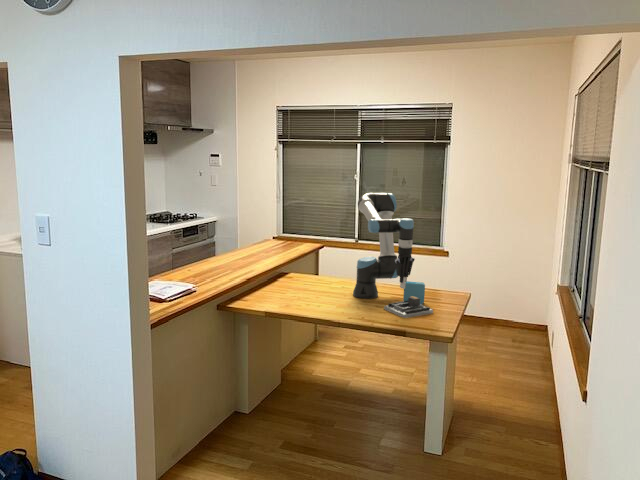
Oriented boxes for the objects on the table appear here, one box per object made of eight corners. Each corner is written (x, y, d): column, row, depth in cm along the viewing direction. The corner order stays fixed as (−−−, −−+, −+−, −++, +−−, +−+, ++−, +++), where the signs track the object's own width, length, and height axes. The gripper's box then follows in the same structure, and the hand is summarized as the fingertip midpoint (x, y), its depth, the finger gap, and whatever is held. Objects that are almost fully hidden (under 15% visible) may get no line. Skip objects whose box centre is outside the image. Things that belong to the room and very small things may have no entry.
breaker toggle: (408, 305, 299) (408, 296, 298) (413, 304, 301) (414, 295, 300) (413, 308, 295) (414, 298, 294) (419, 307, 297) (420, 298, 296)
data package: (424, 302, 315) (425, 282, 313) (424, 304, 310) (425, 284, 308) (403, 300, 317) (404, 281, 315) (403, 302, 312) (404, 283, 310)
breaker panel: (383, 309, 299) (384, 303, 298) (411, 304, 309) (411, 298, 308) (404, 318, 284) (404, 311, 283) (432, 313, 294) (433, 306, 293)
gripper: (400, 249, 285) (397, 291, 290) (418, 247, 292) (416, 288, 297) (391, 246, 292) (389, 287, 297) (410, 244, 298) (407, 284, 303)
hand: (402, 287), depth 297 cm, fingers closed
